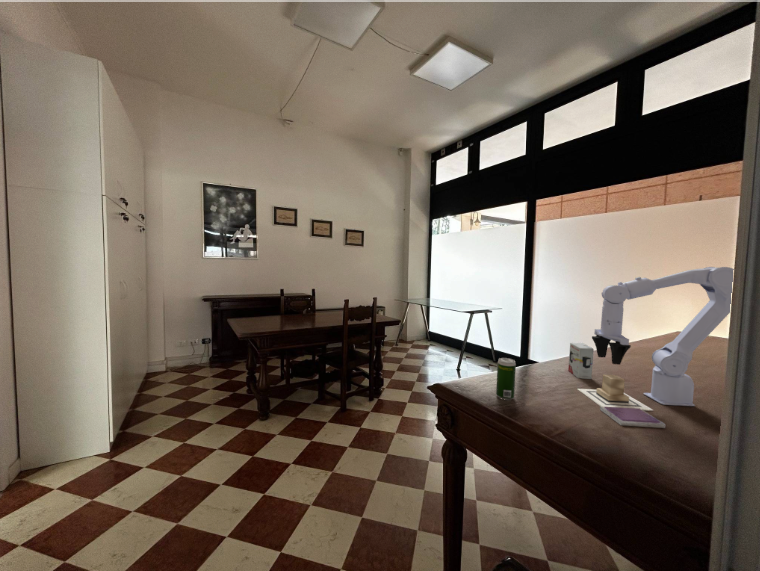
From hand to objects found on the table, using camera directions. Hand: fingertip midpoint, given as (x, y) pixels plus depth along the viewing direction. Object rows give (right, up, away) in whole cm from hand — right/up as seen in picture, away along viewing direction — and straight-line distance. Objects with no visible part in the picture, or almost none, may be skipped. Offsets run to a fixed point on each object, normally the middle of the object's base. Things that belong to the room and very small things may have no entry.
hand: (608, 360), depth 105 cm
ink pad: (-8, -12, -19) cm, 23 cm away
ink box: (0, -10, +16) cm, 18 cm away
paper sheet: (-4, -11, -7) cm, 13 cm away
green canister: (-38, -10, -6) cm, 40 cm away
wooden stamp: (-4, -11, -7) cm, 13 cm away
